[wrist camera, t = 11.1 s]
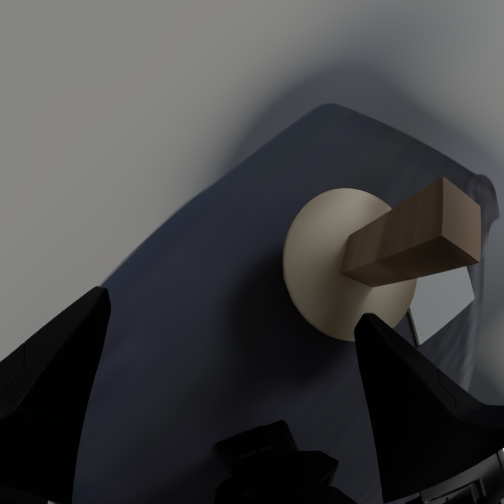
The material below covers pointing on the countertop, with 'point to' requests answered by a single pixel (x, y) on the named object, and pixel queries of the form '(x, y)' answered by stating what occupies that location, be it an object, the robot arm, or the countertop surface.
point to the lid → (374, 252)
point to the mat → (439, 301)
